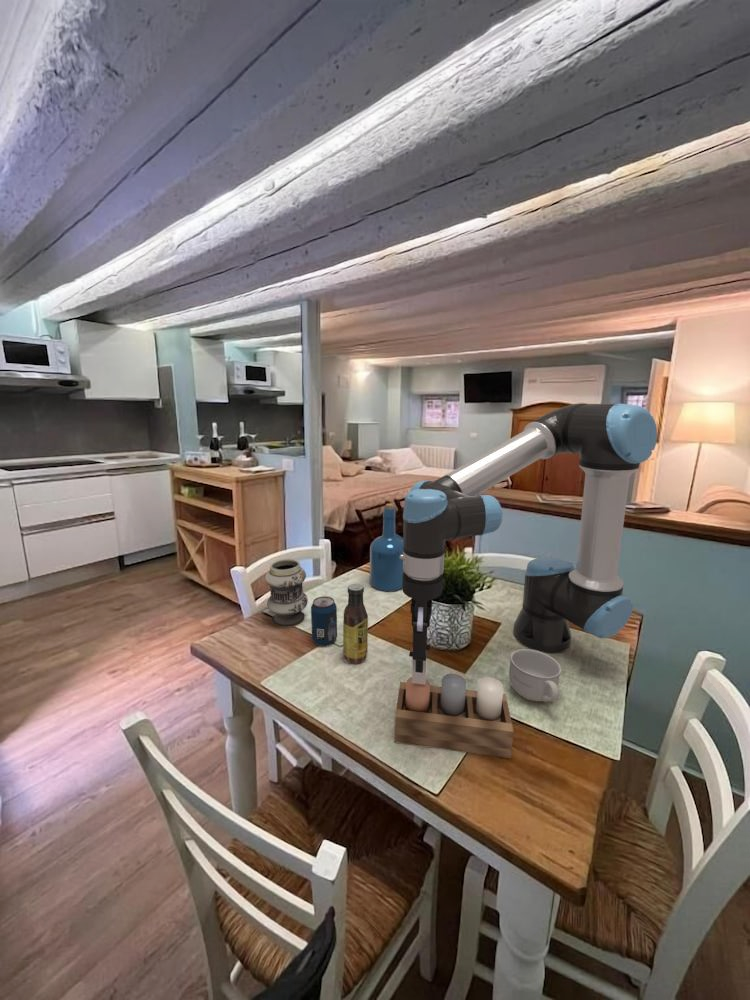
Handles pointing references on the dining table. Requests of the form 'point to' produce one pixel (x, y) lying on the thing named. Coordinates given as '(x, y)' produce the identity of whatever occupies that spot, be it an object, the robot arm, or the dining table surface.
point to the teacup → (534, 675)
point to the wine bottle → (387, 555)
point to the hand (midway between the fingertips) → (418, 681)
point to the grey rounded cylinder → (453, 694)
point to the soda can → (324, 621)
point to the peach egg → (417, 696)
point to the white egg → (489, 698)
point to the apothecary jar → (286, 593)
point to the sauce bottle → (355, 626)
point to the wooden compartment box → (454, 726)
